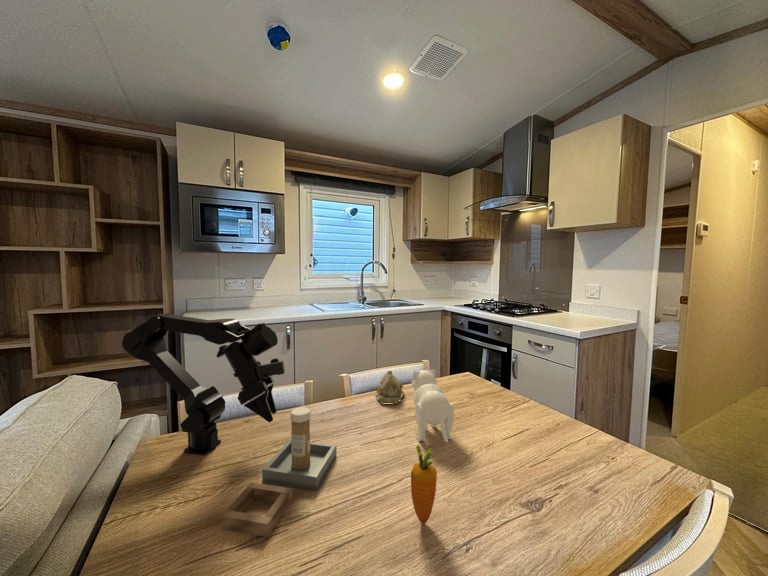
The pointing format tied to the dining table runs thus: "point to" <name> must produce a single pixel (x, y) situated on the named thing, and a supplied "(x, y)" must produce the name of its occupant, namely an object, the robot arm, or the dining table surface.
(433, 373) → the cat figurine
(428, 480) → the carrot
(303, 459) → the sprinkles bottle
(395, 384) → the ceramic model
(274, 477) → the tray
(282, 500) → the holder collar
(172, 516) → the dining table surface
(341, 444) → the dining table surface
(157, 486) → the dining table surface
